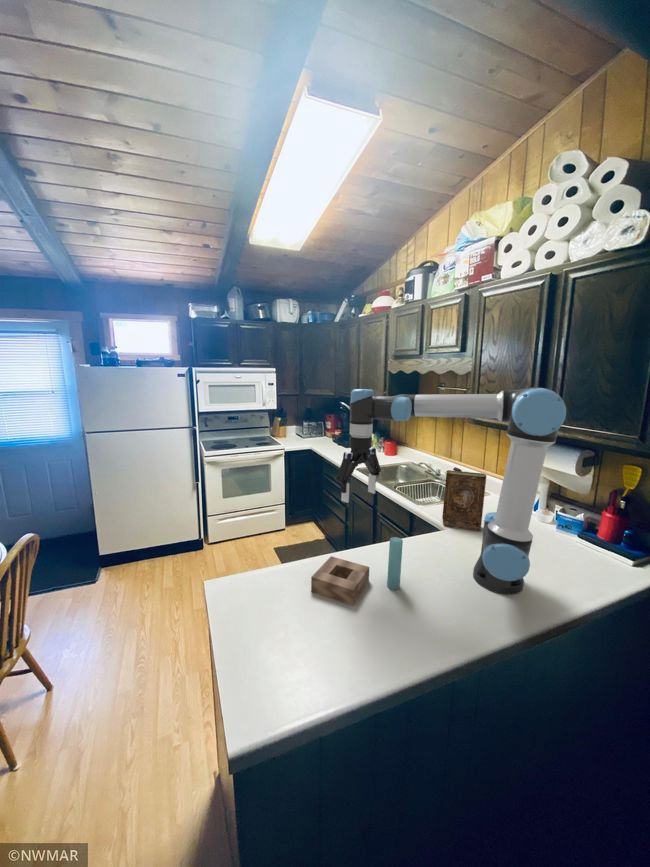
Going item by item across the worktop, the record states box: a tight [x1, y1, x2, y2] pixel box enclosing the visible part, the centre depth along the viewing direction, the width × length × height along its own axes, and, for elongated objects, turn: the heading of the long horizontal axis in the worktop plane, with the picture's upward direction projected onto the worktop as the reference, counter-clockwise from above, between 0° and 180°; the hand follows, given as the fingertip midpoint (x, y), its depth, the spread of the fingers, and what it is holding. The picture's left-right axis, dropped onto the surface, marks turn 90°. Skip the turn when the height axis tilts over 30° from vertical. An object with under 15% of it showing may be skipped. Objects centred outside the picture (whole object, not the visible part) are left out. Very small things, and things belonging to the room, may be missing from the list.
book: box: [441, 470, 487, 532], centre depth 155 cm, size 16×6×25 cm, turn 73°
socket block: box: [310, 556, 370, 606], centre depth 110 cm, size 14×14×5 cm
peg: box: [386, 536, 404, 591], centre depth 110 cm, size 4×4×16 cm
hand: (358, 497), depth 118 cm, fingers open, 13 cm apart
